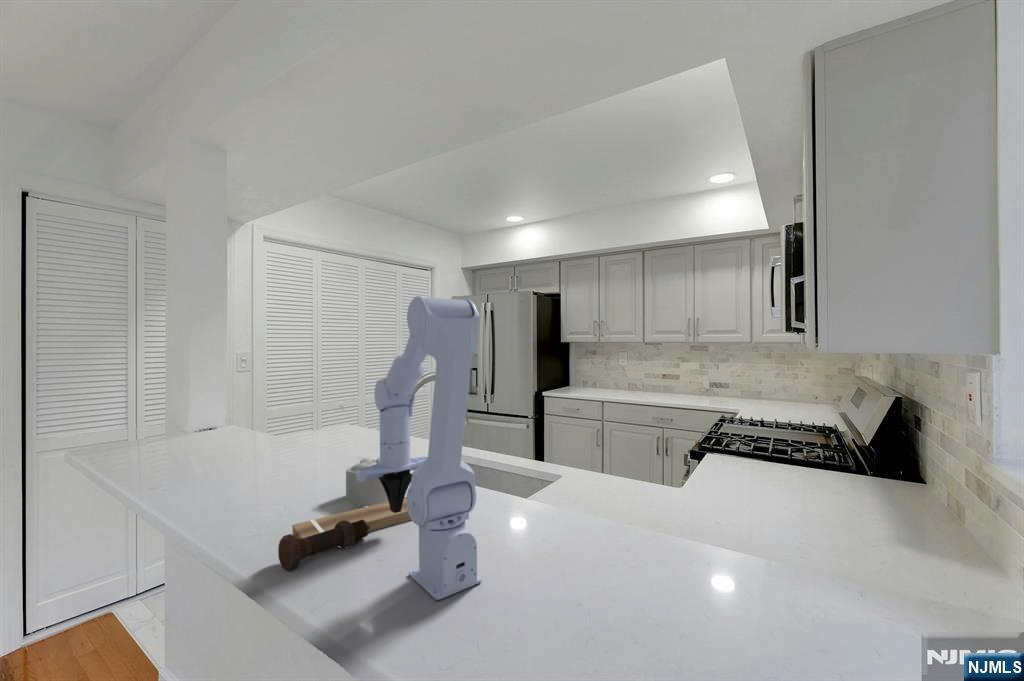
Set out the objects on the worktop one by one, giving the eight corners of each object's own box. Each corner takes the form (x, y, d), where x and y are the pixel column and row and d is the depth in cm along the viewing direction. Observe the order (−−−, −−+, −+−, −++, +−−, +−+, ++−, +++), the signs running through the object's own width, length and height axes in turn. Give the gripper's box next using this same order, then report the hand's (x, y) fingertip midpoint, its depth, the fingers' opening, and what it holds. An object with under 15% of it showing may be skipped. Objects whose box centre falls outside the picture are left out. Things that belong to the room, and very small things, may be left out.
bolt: (367, 548, 83) (285, 579, 72) (355, 528, 86) (275, 555, 75) (377, 525, 82) (294, 553, 70) (364, 506, 84) (283, 530, 73)
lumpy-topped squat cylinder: (340, 500, 103) (339, 463, 103) (383, 484, 114) (383, 451, 114) (369, 509, 98) (368, 470, 98) (412, 492, 109) (412, 457, 109)
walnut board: (424, 516, 93) (424, 506, 93) (303, 550, 78) (302, 538, 78) (408, 505, 100) (407, 496, 100) (292, 535, 85) (292, 524, 85)
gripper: (419, 432, 93) (420, 496, 93) (350, 443, 84) (351, 514, 84) (435, 438, 88) (436, 506, 88) (363, 450, 79) (364, 525, 79)
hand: (395, 510), depth 86 cm, fingers closed
